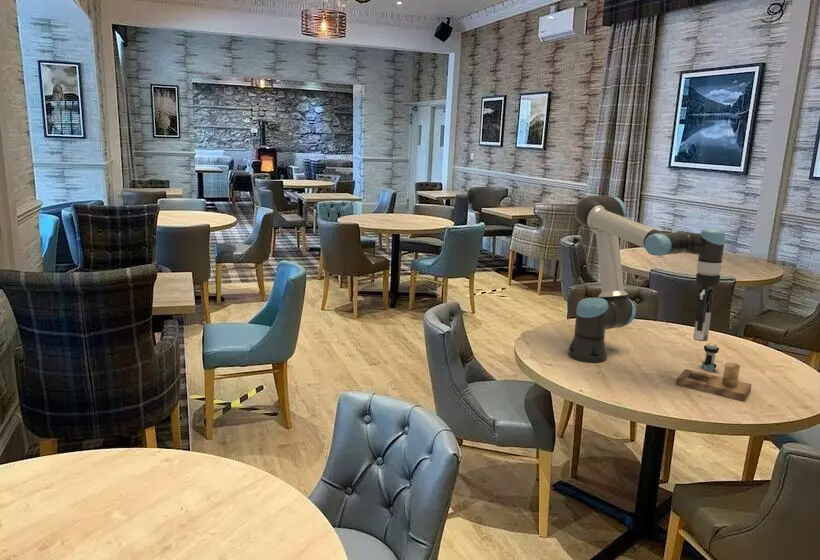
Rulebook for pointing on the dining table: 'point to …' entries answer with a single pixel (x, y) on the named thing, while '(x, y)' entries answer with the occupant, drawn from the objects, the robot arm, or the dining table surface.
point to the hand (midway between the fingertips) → (700, 337)
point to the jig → (717, 382)
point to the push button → (710, 357)
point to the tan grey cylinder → (707, 324)
